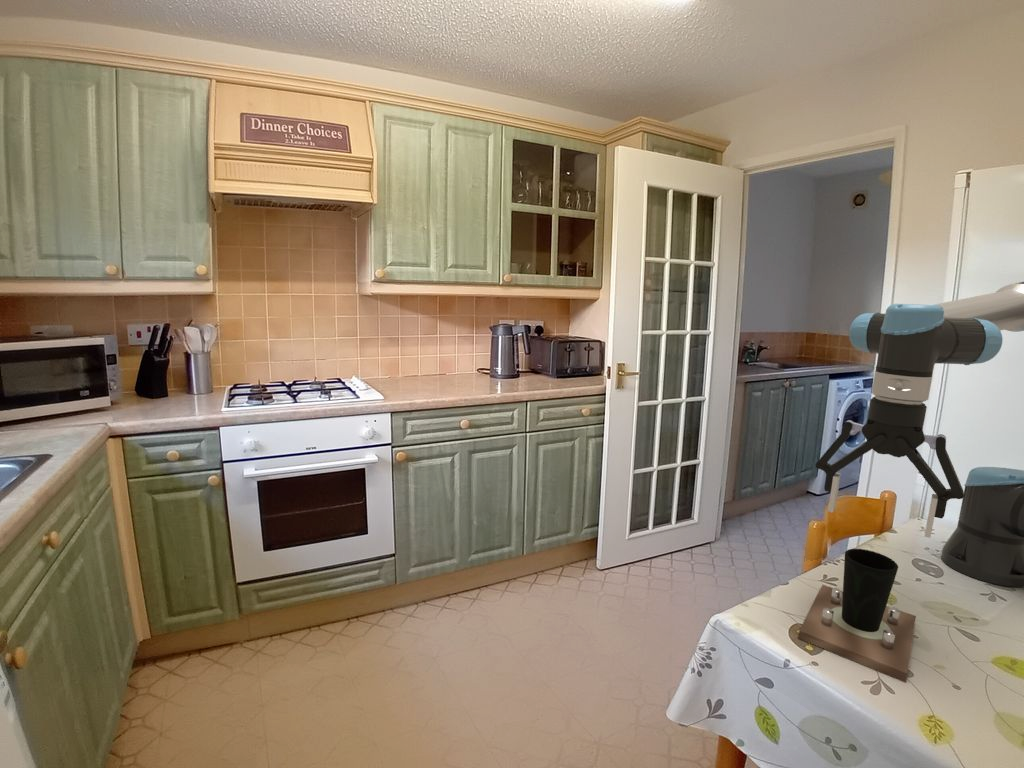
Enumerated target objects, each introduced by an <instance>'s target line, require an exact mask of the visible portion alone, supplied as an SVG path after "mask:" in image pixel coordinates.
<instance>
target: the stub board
mask: <svg viewBox="0 0 1024 768" xmlns="http://www.w3.org/2000/svg"><path fill="white" fill-rule="evenodd" d="M842 600H843V590H841V588H837V587H831V586H828V585H825V584H822V585H821V587H820V588H819V591H818V593H817V594H816V597H815V598H814V600H813V603H812V605H811V606H810V608H809V610H808V613H807V615H806V616H805V618H804V620H803V623H802V625H801V626H800V628H799V631H798V636H797V639H798V638H799V640H800V641H804V642H805V643H808V644H810V643H811V645H813V644H814V645H813V646H815V645H816V647H818V646H819V647H818V648H820V647H821V648H820V649H823V648H824V649H823V650H825V649H826V651H828V650H829V651H828V652H830V651H831V653H833V654H836V655H838V656H840V657H842V656H843V657H842V658H845V657H846V658H845V659H847V658H848V660H850V661H851V662H855V663H858V664H860V665H862V666H865V667H868V668H870V669H873V670H875V671H878V672H879V673H882V674H885V675H887V676H890V677H891V678H894V677H895V679H897V680H899V679H900V680H899V681H902V680H903V681H902V682H904V681H905V682H904V683H907V677H908V672H909V665H910V660H911V653H912V646H913V645H912V644H913V640H914V639H913V638H914V631H915V626H916V618H917V617H916V616H917V615H914V614H910V613H908V612H905V611H902V610H899V609H898V608H896V607H892V606H887V605H886V608H885V611H884V614H883V618H882V621H881V624H880V627H879V630H878V631H876V632H866V631H861V630H858V629H856V628H853V627H852V626H850V625H848V624H847V623H846V622H845V621H844V620H843V619H842Z"/></svg>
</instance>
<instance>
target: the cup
mask: <svg viewBox="0 0 1024 768" xmlns="http://www.w3.org/2000/svg"><path fill="white" fill-rule="evenodd" d="M843 562H844V563H843V564H844V565H843V581H842V582H843V584H842V586H843V587H842V591H843V600H842V619H843V620H844V621H845V622H846V623H847V624H848V625H850V626H852V627H853V628H856V629H858V630H861V631H866V632H876V631H878V630H879V627H880V624H881V621H882V618H883V614H884V611H885V608H886V606H887V604H888V601H889V599H890V595H891V592H892V588H893V585H894V582H895V579H896V577H897V574H898V570H899V566H898V563H897V562H896V561H894V560H893V559H892V558H891V557H888V556H886V555H884V554H882V553H880V552H876V551H874V550H873V551H872V550H868V549H863V548H849V549H847V550H845V552H844V561H843Z"/></svg>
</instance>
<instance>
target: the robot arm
mask: <svg viewBox="0 0 1024 768" xmlns="http://www.w3.org/2000/svg"><path fill="white" fill-rule="evenodd" d="M1002 331H1007V332H1015V333H1017V332H1024V281H1020V282H1016V283H1011V284H1007V285H1004V286H1002V287H1000V288H999V289H998V290H996V291H994V292H991V293H987V294H986V293H985V294H980V295H976V296H971V297H965V298H960V299H956V300H952V301H950V300H949V301H946V302H940V303H935V304H913V303H893V304H889V306H888V307H887V308H886V309H885V313H881V312H873V313H872V312H867V313H866V312H865V313H862V314H860V315H858V316H856V317H855V319H854V320H853V321H852V323H851V324H850V327H849V334H848V335H849V342H850V344H851V345H852V346H853V347H854V348H855V349H856V350H858V351H861V352H867V353H869V354H877V360H876V361H877V362H876V366H875V370H874V376H873V382H872V387H871V394H872V395H874V397H872V398H870V400H869V407H868V412H867V419H866V422H865V424H861V423H857V422H855V421H854V420H852V419H847V421H845V422H844V424H843V427H842V430H841V432H840V434H839V436H837V438H836V439H835V440H834V441H833V443H832V444H831V445H830V446H829V448H828V449H826V451H825V452H824V453H823V455H822V456H821V457H820V458H819V459H818V461H817V462H816V463H815V465H814V466H815V467H816V469H818V470H821V471H823V472H824V473H825V480H824V485H823V486H824V488H823V489H824V491H825V492H828V493H830V496H829V501H828V509H827V512H829V513H834V511H835V510H836V507H837V502H838V501H837V500H838V493H839V488H840V481H841V475H842V474H841V473H840V470H842V469H844V468H845V467H846V466H849V465H850V464H851V463H852V462H854V461H856V460H857V459H858V458H860V457H861V456H863V455H865V454H867V453H868V452H870V451H872V450H873V452H875V453H877V454H879V455H889V456H892V457H894V458H902V457H907V458H908V460H909V462H911V463H912V465H913V466H914V467H915V469H916V470H917V471H918V472H919V473H920V475H921V476H922V477H923V478H924V479H923V480H925V481H926V483H927V484H928V485H929V487H930V488H931V489H932V491H933V492H934V493H932V494H931V499H930V504H929V510H928V515H927V520H926V525H925V530H924V537H925V538H929V539H931V537H932V531H933V526H934V521H935V518H938V519H940V520H941V519H944V517H945V514H946V508H947V504H948V501H949V500H952V499H954V500H955V499H957V500H961V506H960V511H959V515H958V522H957V527H956V528H955V530H954V531H953V532H952V534H951V535H950V537H949V538H948V539H947V541H946V542H945V543H944V545H943V546H942V550H941V553H940V559H941V560H942V562H943V563H944V564H946V565H947V566H948V567H950V568H951V569H953V570H955V571H957V572H959V573H961V574H964V575H966V576H969V577H970V578H974V579H977V580H979V581H983V582H985V583H990V584H994V585H998V586H1003V587H1004V586H1005V587H1012V588H1013V587H1014V588H1022V587H1023V588H1024V470H1023V469H1016V468H1011V467H1010V468H1007V467H1000V466H999V467H996V466H979V467H978V466H977V467H974V468H972V469H971V470H969V472H968V474H967V477H966V482H965V483H964V484H963V485H964V489H963V486H962V484H961V481H960V479H959V477H958V475H957V474H958V473H957V472H956V470H955V468H954V465H953V462H952V461H951V458H950V455H949V454H948V451H947V447H946V446H947V437H946V436H945V434H937V435H931V434H930V435H929V434H925V433H924V425H925V419H926V413H927V408H928V407H927V405H926V404H925V403H924V402H926V401H928V400H929V396H930V391H931V387H932V382H933V376H934V375H933V374H934V369H935V365H936V364H943V365H944V364H945V365H947V364H951V365H952V364H953V365H964V366H970V365H975V364H983V363H984V364H985V363H986V362H988V361H990V360H992V359H994V358H995V357H996V356H997V355H998V354H999V352H1000V351H1001V349H1002V346H1003V334H1002ZM858 432H861V433H862V435H863V436H864V439H865V440H866V441H864V442H863V443H861V444H860V445H858V446H857V447H856V448H854V449H853V450H851V451H850V452H849V453H847V454H846V455H844V456H843V457H840V459H838V460H836V461H835V462H834V463H832V464H830V463H829V461H830V460H831V458H832V457H833V456H834V455H835V454H836V453H837V452H838V451H839V449H840V448H841V447H842V446H843V445H844V444H845V442H846V441H847V440H848V439H849V437H850V436H854V435H856V434H857V433H858ZM924 443H927V444H928V445H929V448H930V449H931V450H934V451H935V454H936V458H937V459H938V462H939V464H940V467H941V469H942V471H943V474H944V476H945V478H946V480H947V481H946V482H947V483H948V485H949V487H950V488H946V487H945V485H944V484H943V483H942V481H941V480H940V479H939V477H938V476H937V475H936V474H935V472H934V471H933V470H932V468H931V467H930V466H929V465H928V462H926V461H925V459H924V457H922V455H921V453H920V452H919V450H918V449H917V448H918V447H920V446H922V444H924Z"/></svg>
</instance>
